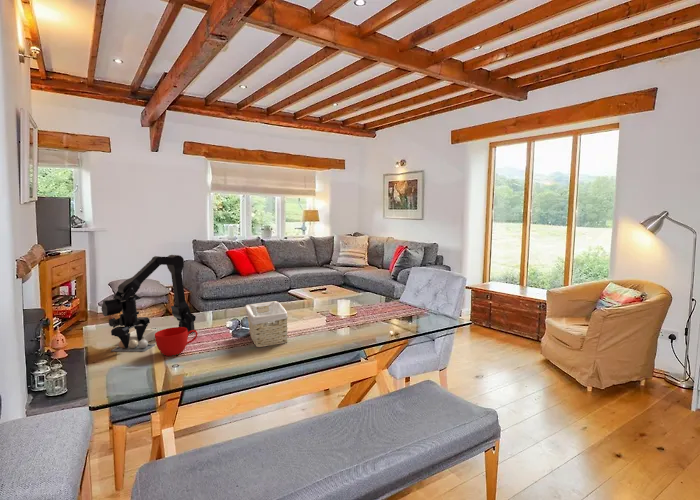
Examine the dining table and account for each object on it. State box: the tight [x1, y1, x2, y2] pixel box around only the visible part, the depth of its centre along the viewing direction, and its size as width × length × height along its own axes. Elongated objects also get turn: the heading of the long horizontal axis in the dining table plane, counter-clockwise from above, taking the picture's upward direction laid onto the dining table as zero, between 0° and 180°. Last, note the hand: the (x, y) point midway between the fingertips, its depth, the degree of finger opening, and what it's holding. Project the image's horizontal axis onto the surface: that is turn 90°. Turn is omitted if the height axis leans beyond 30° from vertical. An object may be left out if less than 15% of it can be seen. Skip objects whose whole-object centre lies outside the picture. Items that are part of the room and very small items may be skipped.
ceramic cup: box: [154, 326, 198, 357], centre depth 178 cm, size 13×17×10 cm
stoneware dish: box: [129, 328, 159, 343], centre depth 197 cm, size 11×11×4 cm
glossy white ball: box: [138, 339, 149, 349], centre depth 185 cm, size 4×4×4 cm
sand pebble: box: [128, 339, 138, 348], centre depth 185 cm, size 4×4×4 cm
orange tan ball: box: [118, 340, 125, 348], centre depth 186 cm, size 4×4×4 cm
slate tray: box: [111, 343, 156, 353], centre depth 186 cm, size 16×8×1 cm, turn 82°
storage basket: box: [245, 300, 289, 348], centre depth 191 cm, size 24×16×15 cm
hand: (133, 344), depth 185 cm, fingers open, 9 cm apart
